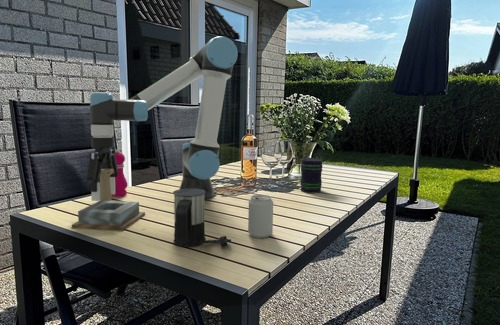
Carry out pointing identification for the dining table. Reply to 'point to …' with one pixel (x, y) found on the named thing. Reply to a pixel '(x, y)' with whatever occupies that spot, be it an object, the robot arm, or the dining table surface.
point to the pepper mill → (120, 176)
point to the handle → (105, 184)
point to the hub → (109, 215)
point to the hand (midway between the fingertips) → (104, 197)
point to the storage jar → (311, 175)
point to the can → (260, 216)
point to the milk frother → (191, 219)
